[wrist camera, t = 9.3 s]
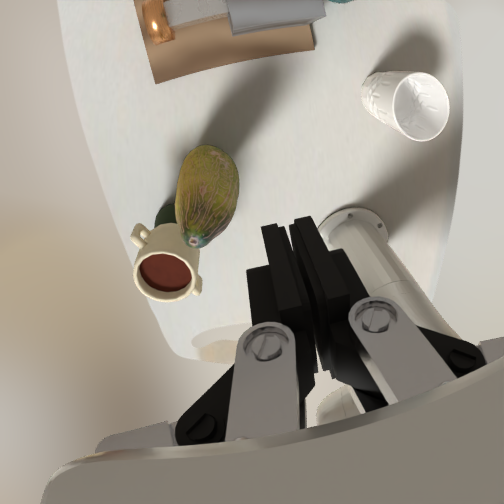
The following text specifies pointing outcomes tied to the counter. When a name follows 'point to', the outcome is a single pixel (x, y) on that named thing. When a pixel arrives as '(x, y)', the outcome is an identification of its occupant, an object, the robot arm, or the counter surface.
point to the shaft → (179, 16)
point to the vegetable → (205, 195)
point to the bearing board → (234, 36)
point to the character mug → (165, 260)
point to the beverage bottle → (341, 1)
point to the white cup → (407, 102)
